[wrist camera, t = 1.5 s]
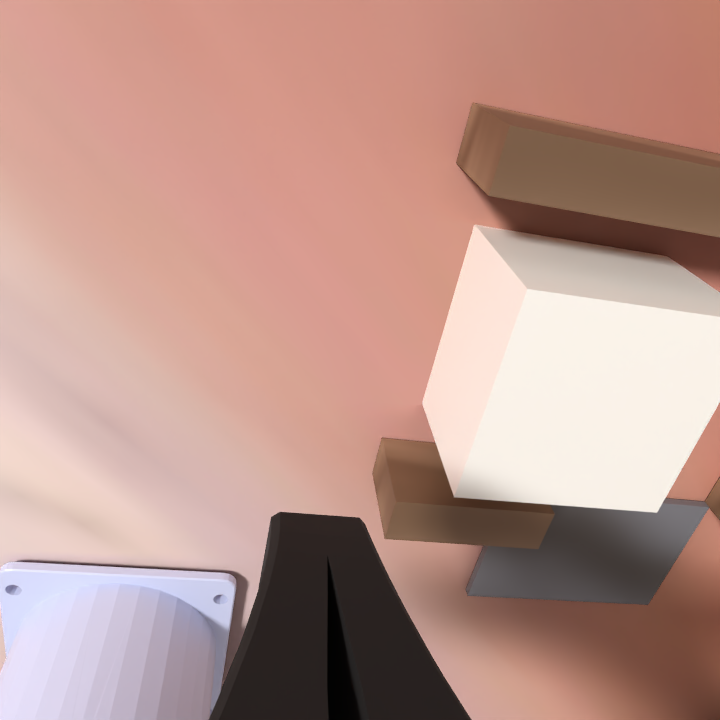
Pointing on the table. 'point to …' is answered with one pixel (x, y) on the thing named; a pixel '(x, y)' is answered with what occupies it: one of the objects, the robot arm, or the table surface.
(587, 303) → the block
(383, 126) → the table surface
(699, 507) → the trap lane
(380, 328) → the table surface
